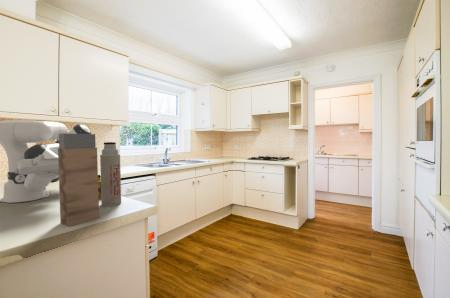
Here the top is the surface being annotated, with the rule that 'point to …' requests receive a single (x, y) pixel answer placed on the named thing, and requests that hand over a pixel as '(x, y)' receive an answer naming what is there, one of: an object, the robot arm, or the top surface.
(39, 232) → the top surface
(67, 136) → the brushed metal plate
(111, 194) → the thermos bottle
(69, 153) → the pedestal
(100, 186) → the condiment
